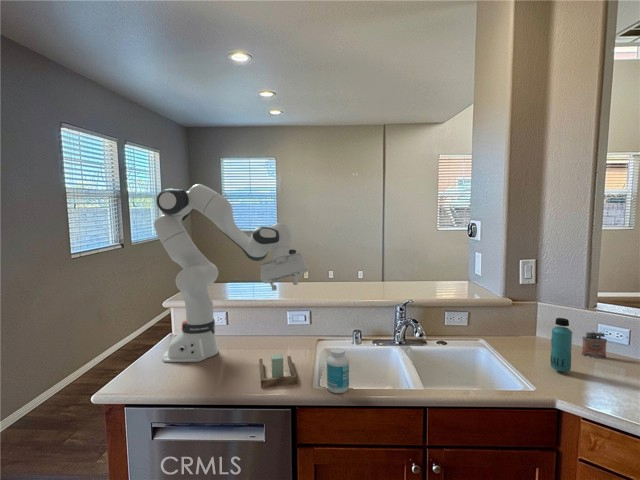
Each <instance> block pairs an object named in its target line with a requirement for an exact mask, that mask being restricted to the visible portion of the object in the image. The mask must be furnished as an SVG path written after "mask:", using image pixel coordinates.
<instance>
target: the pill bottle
mask: <svg viewBox="0 0 640 480" xmlns="http://www.w3.org/2000/svg"><path fill="white" fill-rule="evenodd" d="M349 360H350V359H349V358H348V356H347V355H346V350H345V349H344V348H342V347H334V348H331V350H330V355H329V356H328V357H327V359H326V376H327V377H326V381H327V384H326V385H327V389H328V391H329V392H330V393H334V394H344V393H346V392H348V390H349V388H350V373H349V372H350V361H349Z"/></svg>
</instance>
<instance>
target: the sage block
mask: <svg viewBox="0 0 640 480" xmlns="http://www.w3.org/2000/svg"><path fill="white" fill-rule="evenodd" d="M270 359H271V378H276V377H285V376H284V373H285V371H284V356H283V354H282V353H281V354H280V353H279V354H278V353H277V354H271V358H270Z"/></svg>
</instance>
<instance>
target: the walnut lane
mask: <svg viewBox="0 0 640 480" xmlns="http://www.w3.org/2000/svg"><path fill="white" fill-rule="evenodd" d="M258 360H259V378H260V388H269V387H279V386H289V385H297V384H298V383H297V382H298V379H297V378H298V377H297V374H296V371H295V367H294V364H293V363H294V362H293V359H292V356H291V355H287V366H288V369H289V372H290V373H289V374H290V375H287V376H284V377H276V378H272V377H270V378H269V377H268V378H265V372H264V361H263V358H259V359H258Z"/></svg>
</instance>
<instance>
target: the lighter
mask: <svg viewBox="0 0 640 480" xmlns="http://www.w3.org/2000/svg"><path fill="white" fill-rule="evenodd" d="M585 335H586V336H582V337H581V338H582V348H581V349H582V352H581V356H583V355H584V356H583V357H586V356H589V357H588V358H592V357H594V359H603V358H605V359H607V354H606V353H607V342H608V340H607V339H606V338H605V337H606V335H605V333H604V332H595V331H591V332H590V331H586V332H585Z"/></svg>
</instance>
